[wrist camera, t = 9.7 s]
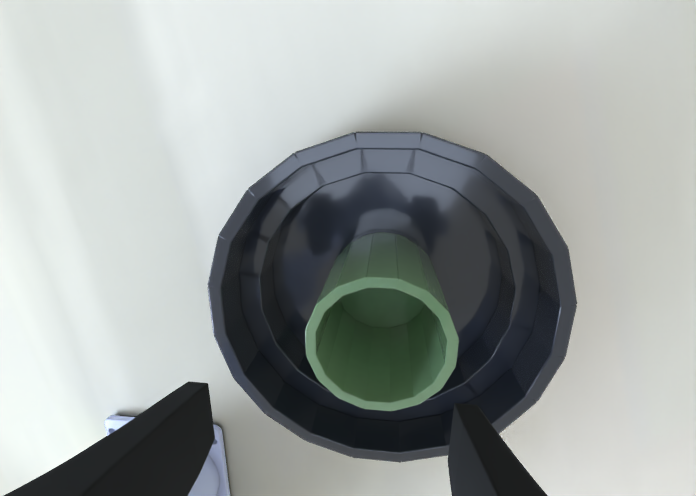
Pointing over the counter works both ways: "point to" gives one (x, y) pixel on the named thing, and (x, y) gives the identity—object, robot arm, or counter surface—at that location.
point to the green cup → (382, 326)
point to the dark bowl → (450, 266)
